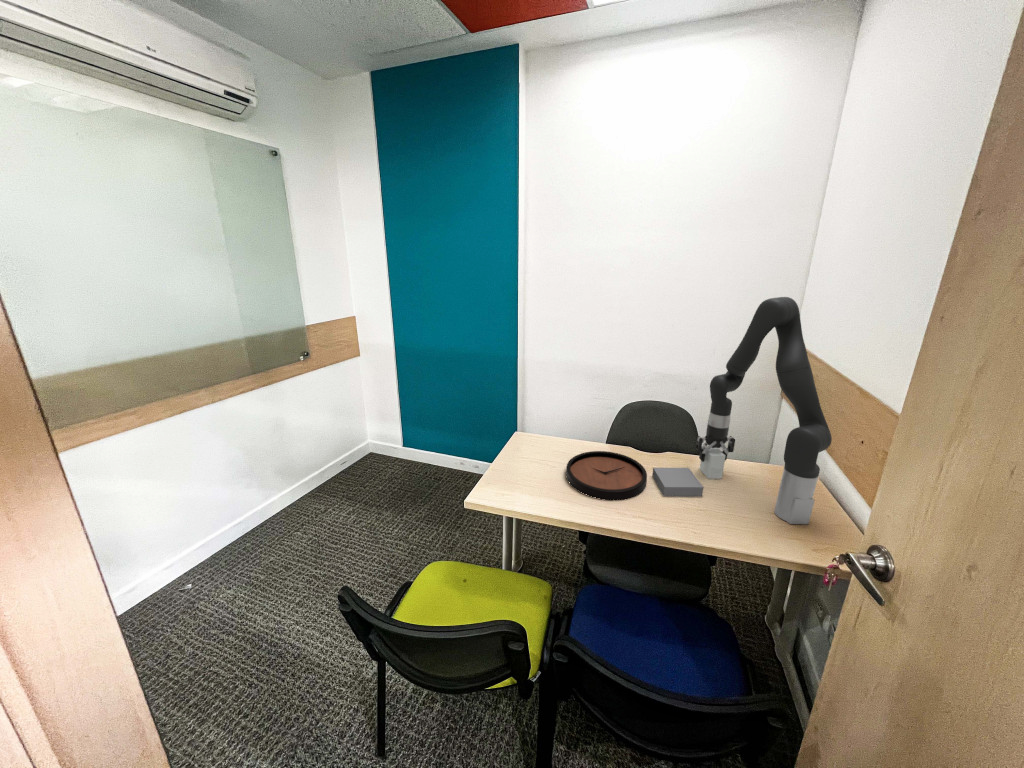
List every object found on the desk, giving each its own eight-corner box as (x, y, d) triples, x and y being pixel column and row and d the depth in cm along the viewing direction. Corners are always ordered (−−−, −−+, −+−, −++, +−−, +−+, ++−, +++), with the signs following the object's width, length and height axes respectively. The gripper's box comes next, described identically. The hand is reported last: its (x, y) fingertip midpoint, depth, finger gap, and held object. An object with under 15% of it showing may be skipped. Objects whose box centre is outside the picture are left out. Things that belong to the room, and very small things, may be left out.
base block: (702, 496, 146) (703, 487, 145) (663, 496, 147) (664, 487, 146) (687, 476, 160) (688, 467, 159) (652, 476, 160) (653, 467, 159)
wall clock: (567, 489, 146) (565, 449, 175) (567, 499, 147) (565, 457, 176) (655, 493, 142) (638, 452, 172) (654, 503, 144) (637, 460, 173)
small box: (722, 479, 157) (726, 455, 154) (707, 479, 158) (711, 455, 154) (712, 468, 165) (716, 446, 162) (699, 468, 165) (702, 446, 162)
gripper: (703, 427, 151) (698, 465, 156) (742, 427, 151) (735, 465, 156) (695, 419, 158) (690, 456, 163) (732, 419, 158) (726, 456, 163)
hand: (712, 460), depth 159 cm, fingers open, 7 cm apart
